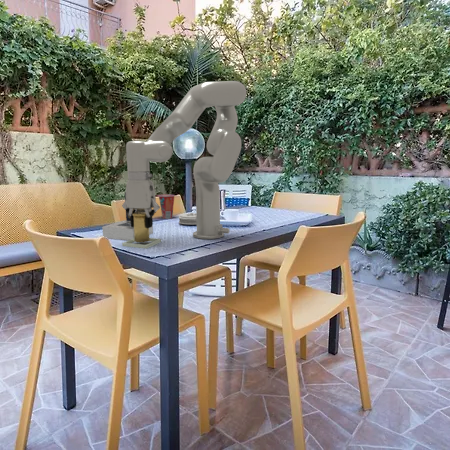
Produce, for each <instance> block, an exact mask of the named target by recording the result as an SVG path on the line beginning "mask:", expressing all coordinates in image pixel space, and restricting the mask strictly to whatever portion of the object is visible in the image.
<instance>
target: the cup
mask: <svg viewBox="0 0 450 450" xmlns="http://www.w3.org/2000/svg"><path fill="white" fill-rule="evenodd" d="M157 197H158V198H159V206H160V211H161V217H162V219H163V220H165V219H167V220H169V219H173V216H174V203H175V197H176V195H175V194H158V195H157Z"/></svg>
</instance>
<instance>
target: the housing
mask: <svg viewBox="0 0 450 450" xmlns="http://www.w3.org/2000/svg"><path fill="white" fill-rule="evenodd" d="M153 234H154V224H153V225H152V227H150V228H149V236H150V235H153ZM103 236H104V237H107V238H106V239H110V240H112V239H113V240H122V241H129V240H132V239H134V227H131V221H126V220H121V221H118V222H114V223H111V224H107V225H104V226H102V237H103Z"/></svg>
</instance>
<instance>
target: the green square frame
mask: <svg viewBox="0 0 450 450" xmlns="http://www.w3.org/2000/svg"><path fill="white" fill-rule="evenodd" d="M149 238H150V240H149V241H148V242H149V243H147V244H140V243H136V242H135V241H134V239H132V240H125V241H124V242H122V243H121V244H122V245H121V246H122V247H127V248H136V249H137V248H138V249H148V248H151V247H154V246H155V245H158V244H160V243H162V239H161V238H154V237H149Z"/></svg>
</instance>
